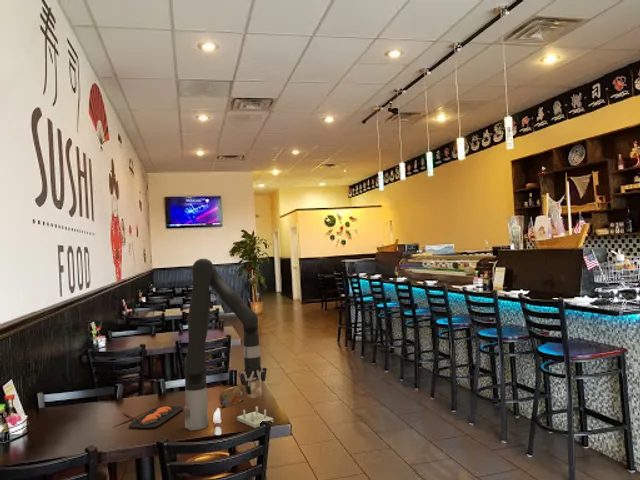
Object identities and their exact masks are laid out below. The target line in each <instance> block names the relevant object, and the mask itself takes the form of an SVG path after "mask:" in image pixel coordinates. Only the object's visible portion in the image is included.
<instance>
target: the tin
mask: <svg viewBox="0 0 640 480" xmlns="http://www.w3.org/2000/svg"><path fill="white" fill-rule="evenodd" d="M244 393H245V392H244V389H243V387H242V386H240V385H239V386H238V385H236V386H232V387H229V388H225V389H223V390H222V391H221V392H220V394H219V396H218V397H219V400H218V401H219V404H220V405H221V406H222V407H225V408H228V407H227V406H229V407H231V406H233V405H232V404H234V405H236V404H235V403H237V404H239V403H241V402H242V401H243V400H244V396H245V394H244ZM238 402H239V403H238ZM230 405H231V406H230Z"/></svg>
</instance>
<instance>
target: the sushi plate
mask: <svg viewBox="0 0 640 480" xmlns="http://www.w3.org/2000/svg"><path fill="white" fill-rule="evenodd" d="M183 409H184V407H183V406H177V405H176V406H173V405H172V406H171V405H170V406H169V405H167V406H165V405H163V406H162V405H161V406H158V407H155V408H152V409H150V410H148V411H145V412H143V413H141V414H139V415H137V416H135V417H133V416H131V415H128V414H126V413H124V412H123V413H122V415H124V416H126V417H128V418H130V419H127V420H126V421H123V422H122V423H119V424H117V425H116V424H115V426H112V427H111V428H112V429H113V428H116V427H118V426H121V425H124V424H126V423H128V422H130V421H132V422H131V423H130V424H128V428H137V429H138V428H139V429H152V428H157V427H159V426H161V425H162V424H163V423H165V422H167V421H168V420H170V419H171V418H172V417H174V416H176V415H177V414H178V413H180V412H181V411H183ZM133 420H134V421H133Z"/></svg>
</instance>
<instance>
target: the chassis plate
mask: <svg viewBox="0 0 640 480" xmlns="http://www.w3.org/2000/svg"><path fill="white" fill-rule="evenodd" d="M236 421H238V422H240V423H243V424H245V425H247V426H250V427H252V428H255V429H256V428H258V427H259V428H260V427H261V426H260V423H261V422H262V421H271V422H272V423H274V418H273V417H270V416H268V415H267V409H263V414H262V413H260V412H259V406H255V411H253V412H252V411H251V412H249V413H246V409H243V410H242V415H239V416H236Z"/></svg>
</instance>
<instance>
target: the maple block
mask: <svg viewBox="0 0 640 480" xmlns="http://www.w3.org/2000/svg"><path fill="white" fill-rule="evenodd" d="M262 389H263V388H262ZM262 389H261V380H258V379H256V378H252V381H251V382H250V391H251V394H247V393H246V392H245V393H246V394H245V395H246V397H248V398H251V399H254V398H258V397H259V398H260V397H261V396H263V394H262V393H263V392H262Z"/></svg>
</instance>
